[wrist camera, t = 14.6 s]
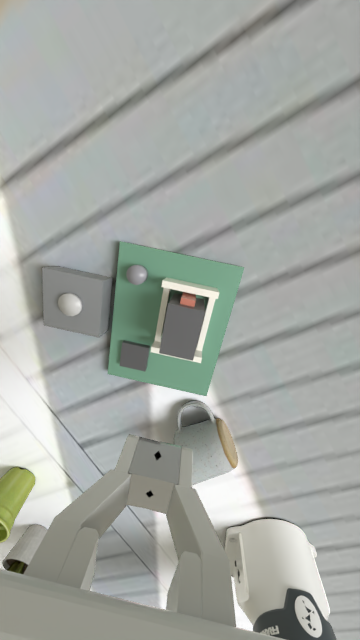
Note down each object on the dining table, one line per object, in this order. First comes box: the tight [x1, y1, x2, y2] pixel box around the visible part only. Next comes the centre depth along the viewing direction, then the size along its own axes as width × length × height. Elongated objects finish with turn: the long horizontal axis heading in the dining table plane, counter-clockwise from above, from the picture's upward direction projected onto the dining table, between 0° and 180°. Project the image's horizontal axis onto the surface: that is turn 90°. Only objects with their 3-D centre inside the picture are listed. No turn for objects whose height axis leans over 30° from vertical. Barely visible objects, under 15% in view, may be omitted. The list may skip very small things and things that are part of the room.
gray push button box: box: [42, 266, 113, 337], centre depth 28 cm, size 8×8×4 cm
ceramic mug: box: [174, 401, 238, 485], centre depth 31 cm, size 11×8×8 cm
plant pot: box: [0, 467, 35, 543], centre depth 40 cm, size 9×9×9 cm
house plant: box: [3, 524, 48, 574], centre depth 43 cm, size 14×14×16 cm
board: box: [108, 241, 244, 396], centre depth 28 cm, size 20×16×4 cm
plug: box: [159, 292, 205, 361], centre depth 25 cm, size 7×4×6 cm, turn 169°
